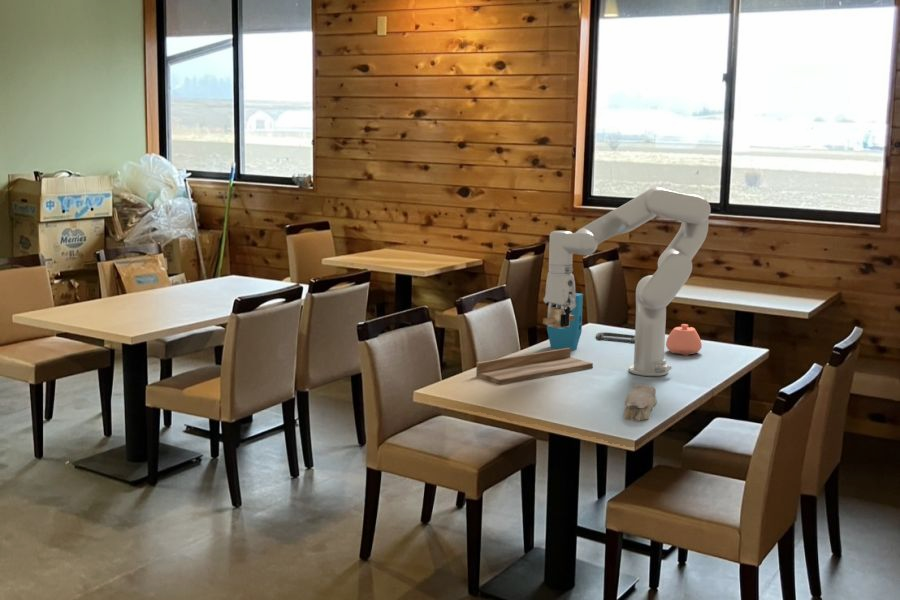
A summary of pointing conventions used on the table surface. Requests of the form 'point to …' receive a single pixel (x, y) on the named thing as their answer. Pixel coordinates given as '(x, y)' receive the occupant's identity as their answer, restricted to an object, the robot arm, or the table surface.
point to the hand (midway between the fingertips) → (558, 324)
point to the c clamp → (601, 336)
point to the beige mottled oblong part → (640, 402)
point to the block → (568, 329)
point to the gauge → (555, 317)
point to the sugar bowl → (684, 340)
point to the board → (530, 366)
